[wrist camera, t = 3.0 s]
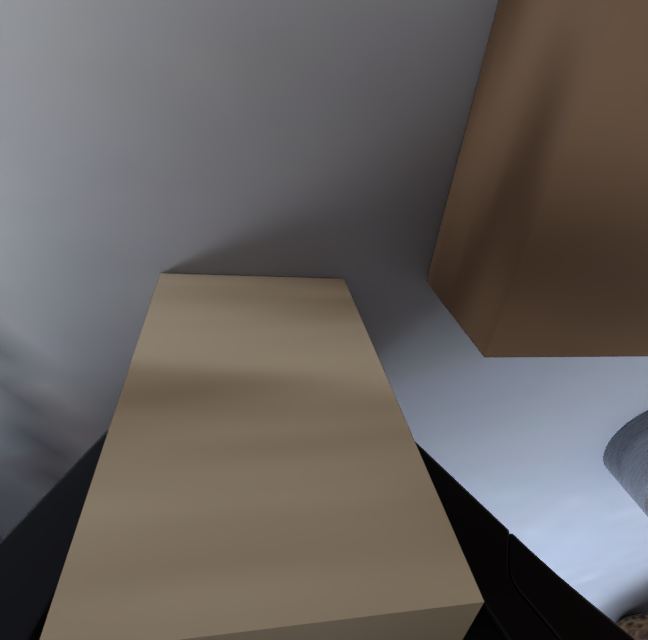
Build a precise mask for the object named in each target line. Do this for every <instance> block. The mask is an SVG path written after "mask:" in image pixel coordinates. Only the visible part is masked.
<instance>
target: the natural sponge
mask: <svg viewBox="0 0 648 640" xmlns="http://www.w3.org/2000/svg"><path fill="white" fill-rule="evenodd" d="M616 624H617V625H618V626H619V627H621V628H622V629H623V630H624V631H626V632H627V633H628V634H629V635H631V636H632V637H633V638H634V639H635V640H648V613H642V614H635V615H631V616H628V617H625V618H623V619H621V620H620V621H619V622H617V623H616Z"/></svg>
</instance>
